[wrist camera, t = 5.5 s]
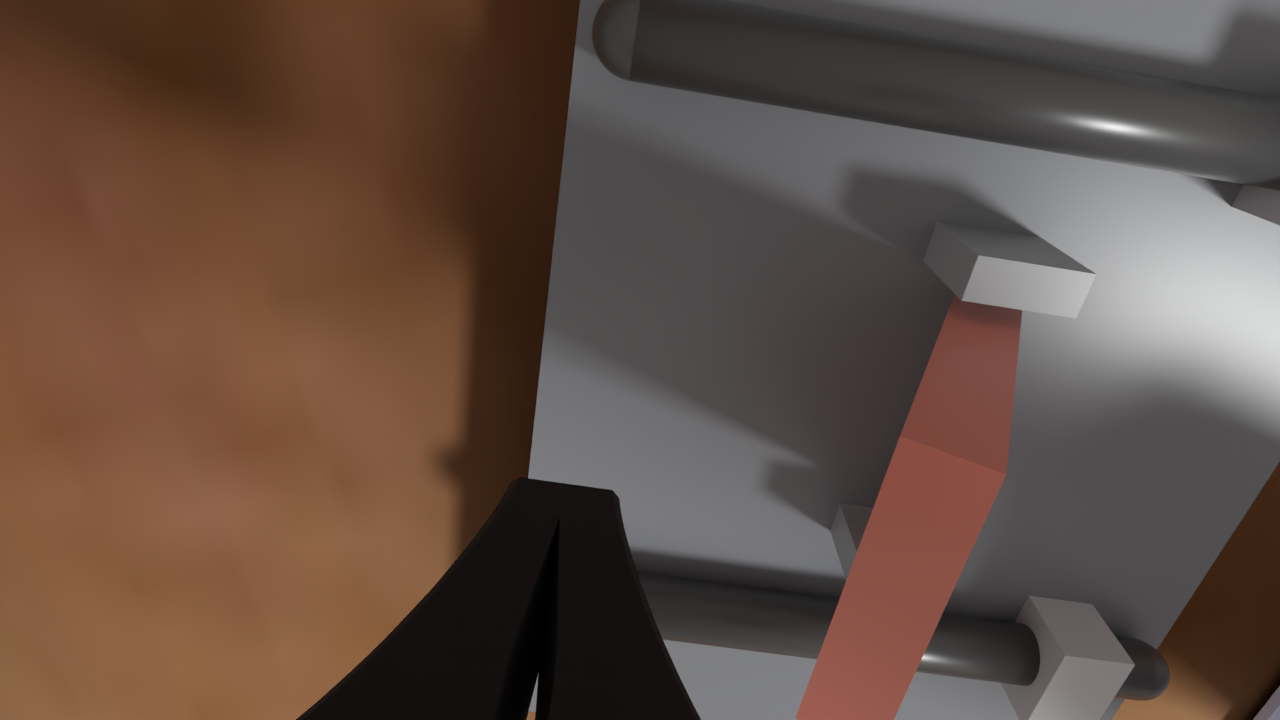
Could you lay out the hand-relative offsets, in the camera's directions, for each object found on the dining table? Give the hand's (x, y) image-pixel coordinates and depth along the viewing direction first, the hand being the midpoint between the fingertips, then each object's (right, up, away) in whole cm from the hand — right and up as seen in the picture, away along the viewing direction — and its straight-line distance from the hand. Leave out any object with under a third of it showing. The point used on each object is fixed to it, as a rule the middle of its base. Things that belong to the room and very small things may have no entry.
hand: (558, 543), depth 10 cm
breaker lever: (+7, +1, +5) cm, 9 cm away
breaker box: (+7, +2, +7) cm, 11 cm away
